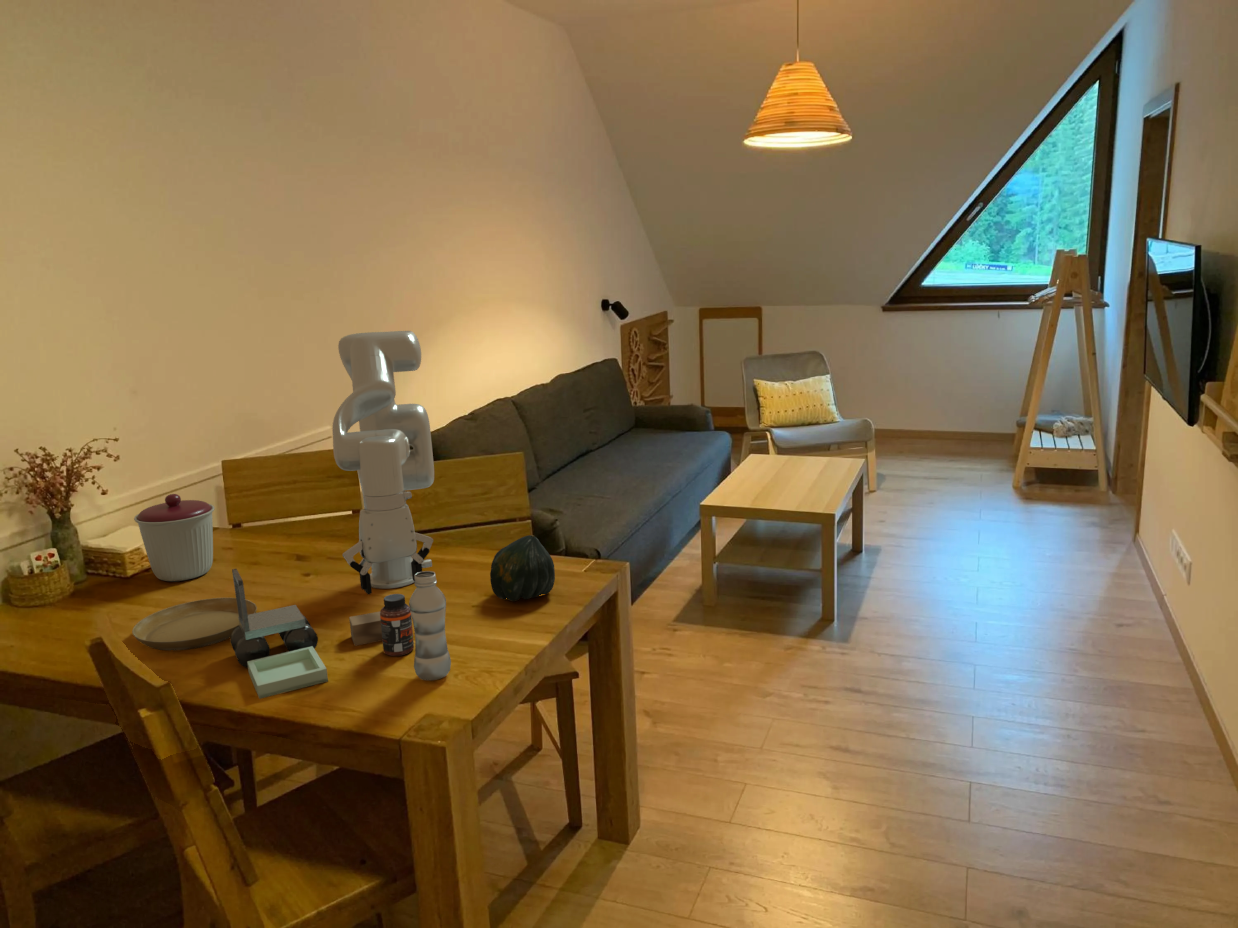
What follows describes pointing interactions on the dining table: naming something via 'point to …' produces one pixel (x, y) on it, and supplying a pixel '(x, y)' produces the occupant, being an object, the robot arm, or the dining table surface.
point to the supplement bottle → (396, 626)
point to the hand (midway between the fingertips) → (392, 587)
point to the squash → (522, 570)
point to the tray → (287, 672)
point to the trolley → (267, 628)
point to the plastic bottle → (429, 628)
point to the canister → (178, 538)
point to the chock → (366, 628)
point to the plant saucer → (191, 624)
